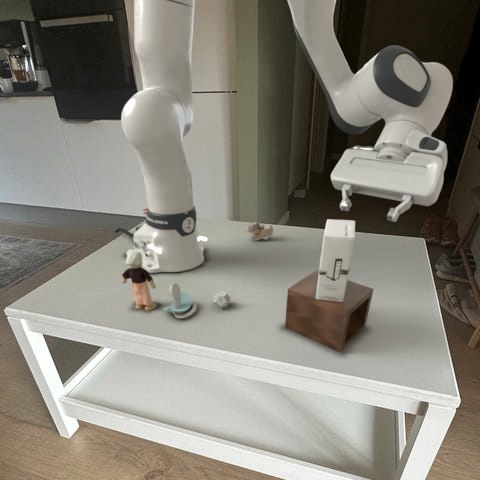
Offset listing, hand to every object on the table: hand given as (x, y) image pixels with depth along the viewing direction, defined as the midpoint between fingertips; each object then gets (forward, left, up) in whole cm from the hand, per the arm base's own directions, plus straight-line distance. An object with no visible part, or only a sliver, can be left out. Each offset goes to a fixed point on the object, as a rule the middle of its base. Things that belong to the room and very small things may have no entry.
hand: (366, 214), depth 69 cm
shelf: (+1, -12, -19) cm, 23 cm away
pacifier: (-25, -26, -19) cm, 41 cm away
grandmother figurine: (-33, -30, -19) cm, 49 cm away
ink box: (+1, -13, -11) cm, 16 cm away
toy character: (-38, +16, -19) cm, 46 cm away
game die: (-20, -19, -19) cm, 34 cm away
